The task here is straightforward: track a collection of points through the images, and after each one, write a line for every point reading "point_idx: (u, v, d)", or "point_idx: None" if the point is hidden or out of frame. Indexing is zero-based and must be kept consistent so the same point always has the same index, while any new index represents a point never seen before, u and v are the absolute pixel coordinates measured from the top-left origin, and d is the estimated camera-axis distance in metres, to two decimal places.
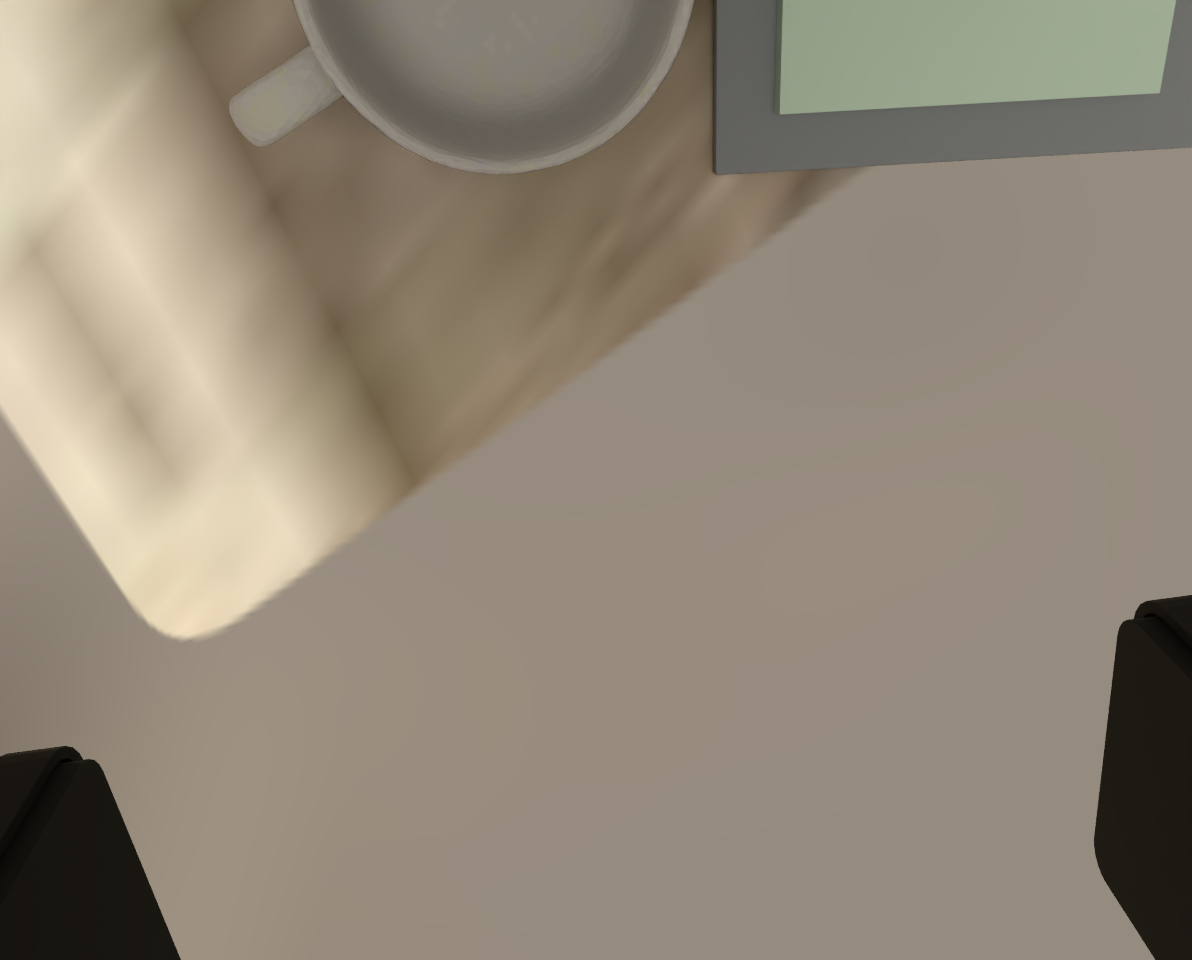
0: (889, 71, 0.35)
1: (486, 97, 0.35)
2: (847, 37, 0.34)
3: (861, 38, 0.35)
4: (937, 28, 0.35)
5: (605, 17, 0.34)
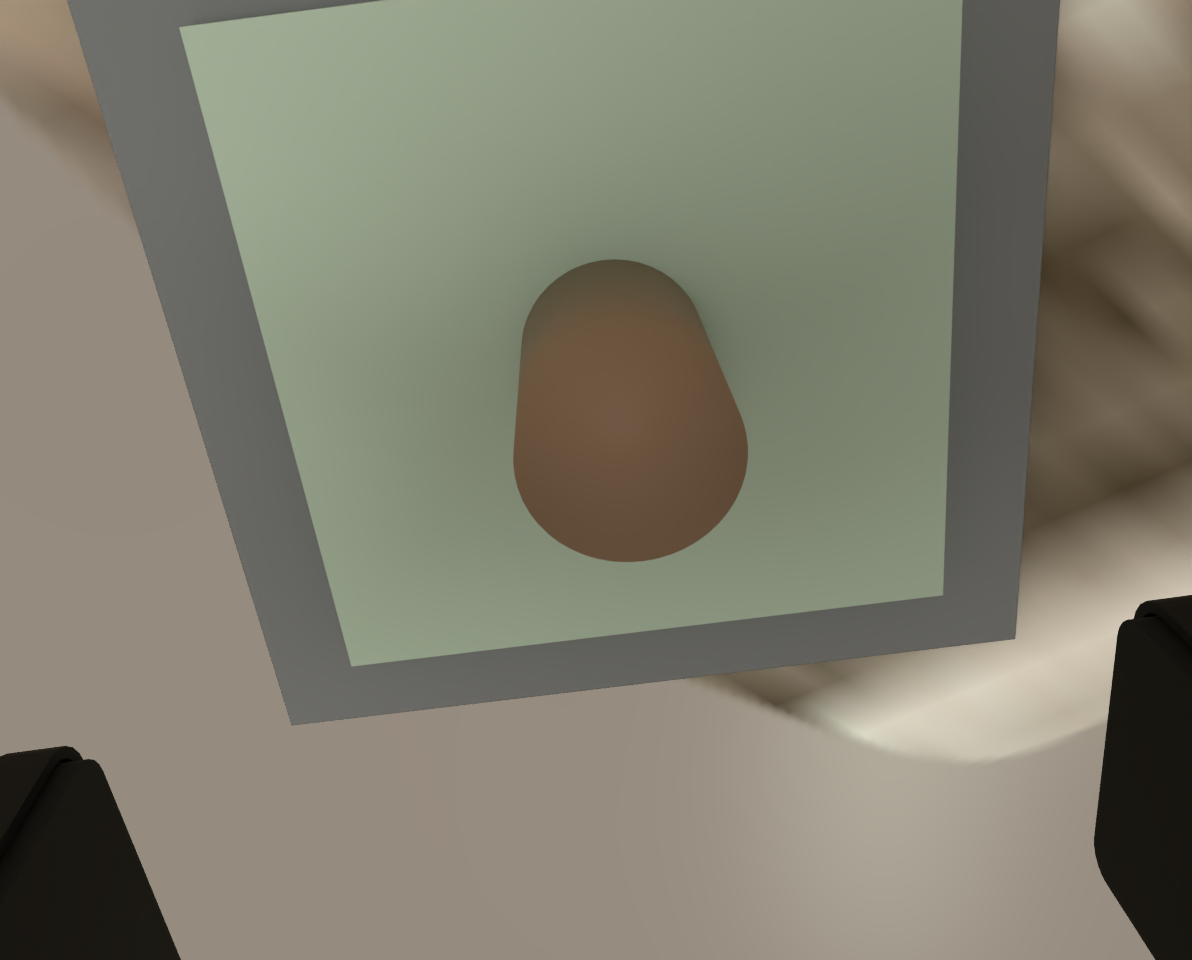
0: (300, 236, 0.19)
1: None
2: (345, 143, 0.18)
3: (347, 172, 0.19)
4: (386, 307, 0.20)
5: None
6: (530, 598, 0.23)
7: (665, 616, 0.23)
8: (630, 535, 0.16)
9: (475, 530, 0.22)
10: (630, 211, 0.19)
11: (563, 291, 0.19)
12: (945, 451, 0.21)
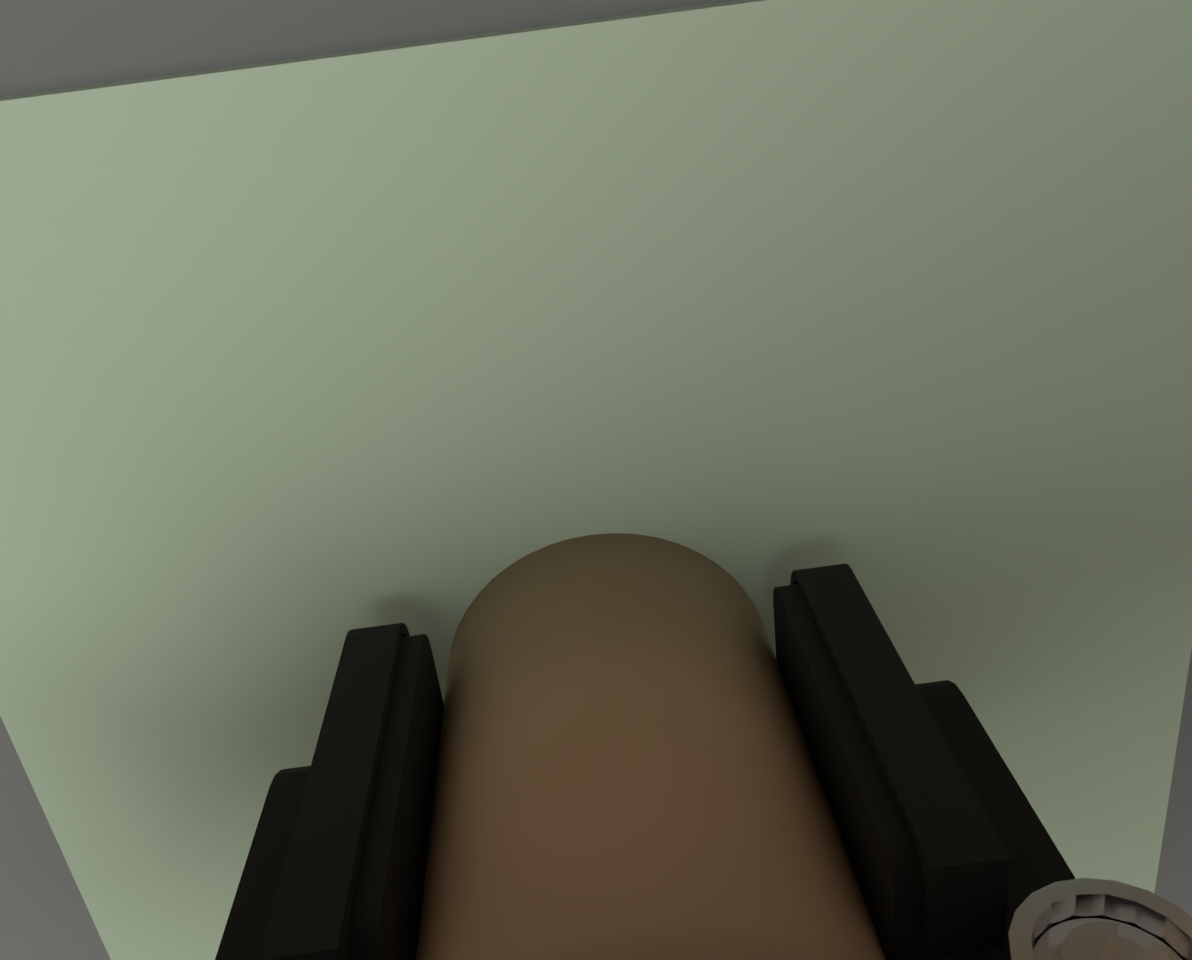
0: (30, 506, 0.10)
1: None
2: (98, 347, 0.10)
3: (107, 396, 0.10)
4: (201, 618, 0.11)
5: None
6: None
7: None
8: None
9: None
10: (641, 454, 0.10)
11: (518, 618, 0.10)
12: (1164, 807, 0.13)
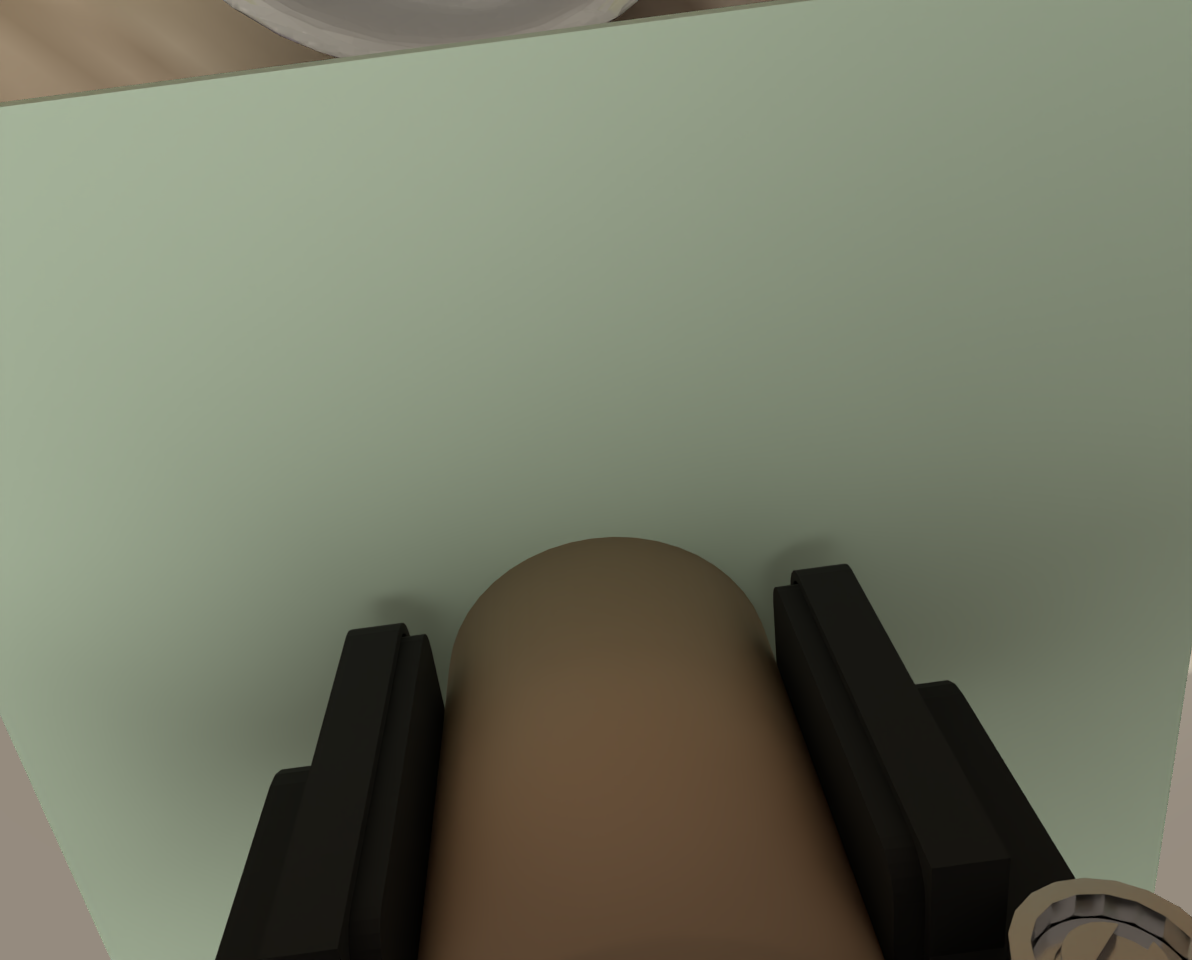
0: (32, 510, 0.10)
1: None
2: (101, 352, 0.10)
3: (109, 401, 0.10)
4: (203, 622, 0.11)
5: None
6: None
7: None
8: None
9: None
10: (641, 457, 0.10)
11: (519, 622, 0.10)
12: (1163, 810, 0.13)
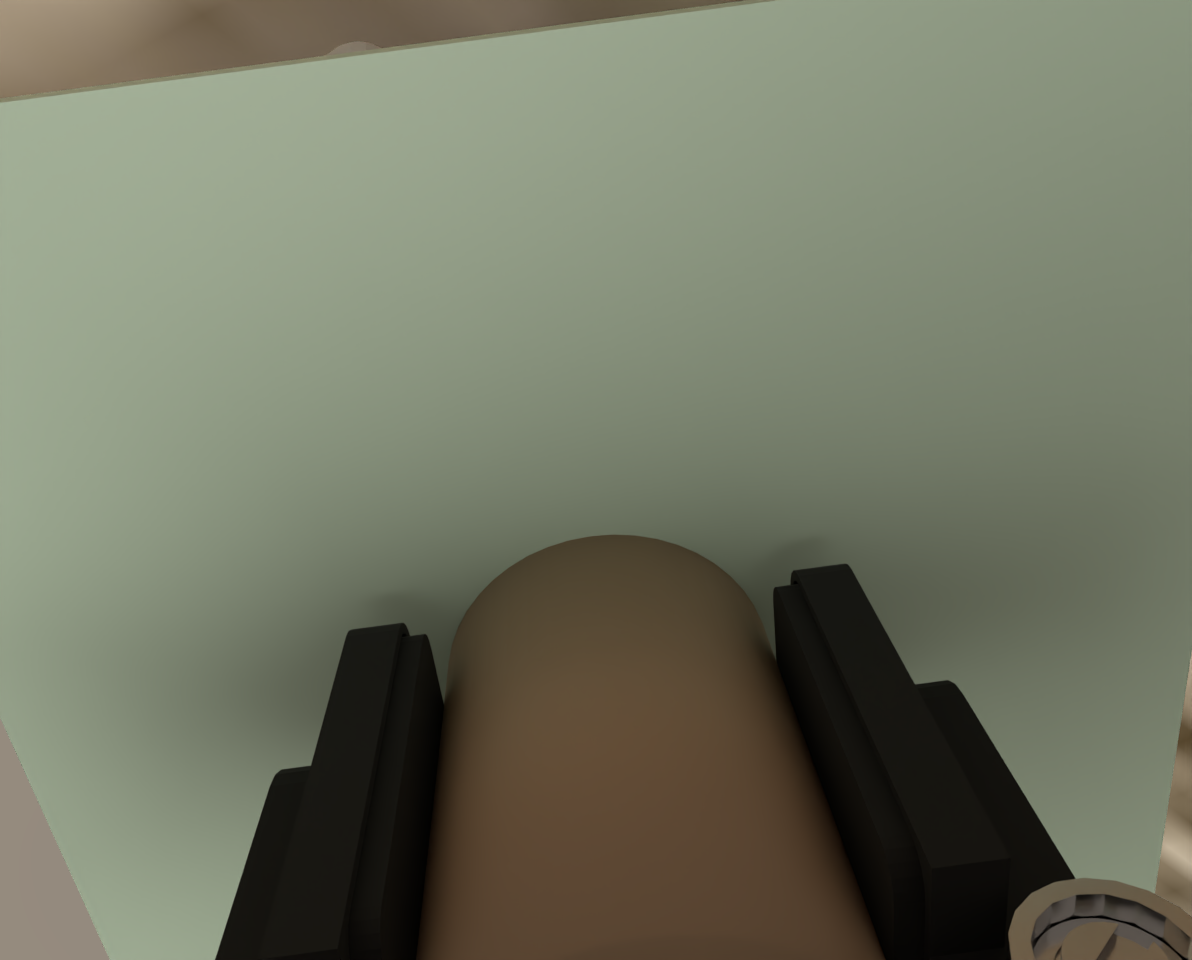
0: (31, 507, 0.10)
1: None
2: (98, 349, 0.10)
3: (107, 398, 0.10)
4: (201, 620, 0.11)
5: None
6: None
7: None
8: None
9: None
10: (640, 455, 0.10)
11: (518, 620, 0.10)
12: (1164, 808, 0.13)
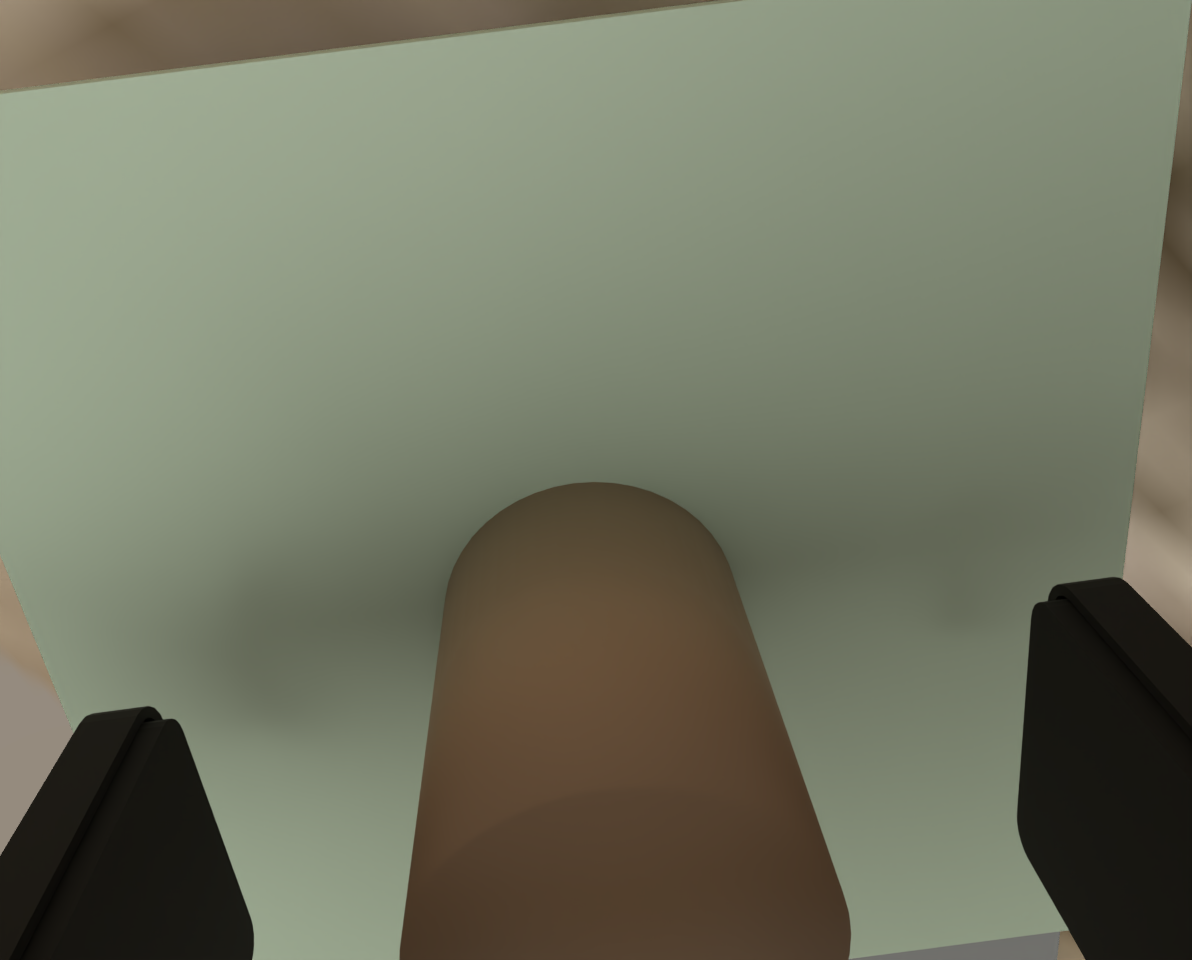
0: (70, 453, 0.11)
1: None
2: (134, 308, 0.11)
3: (141, 353, 0.11)
4: (221, 558, 0.12)
5: None
6: None
7: None
8: None
9: (381, 864, 0.14)
10: (619, 409, 0.12)
11: (507, 553, 0.11)
12: None
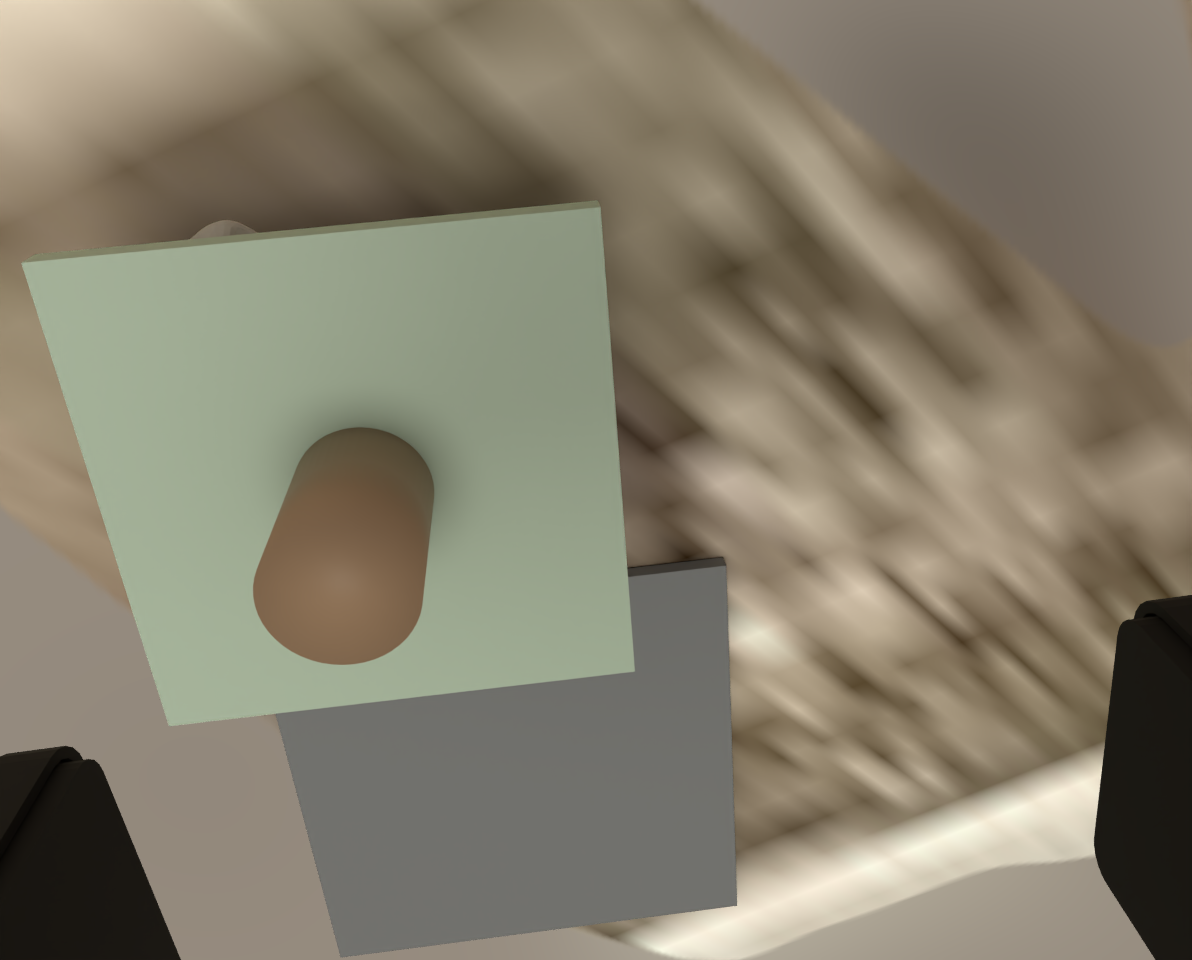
0: (118, 408, 0.25)
1: None
2: (150, 344, 0.25)
3: (153, 363, 0.25)
4: (187, 459, 0.26)
5: None
6: (311, 673, 0.29)
7: (419, 686, 0.29)
8: (343, 646, 0.23)
9: None
10: (370, 394, 0.26)
11: (315, 456, 0.25)
12: (625, 565, 0.28)
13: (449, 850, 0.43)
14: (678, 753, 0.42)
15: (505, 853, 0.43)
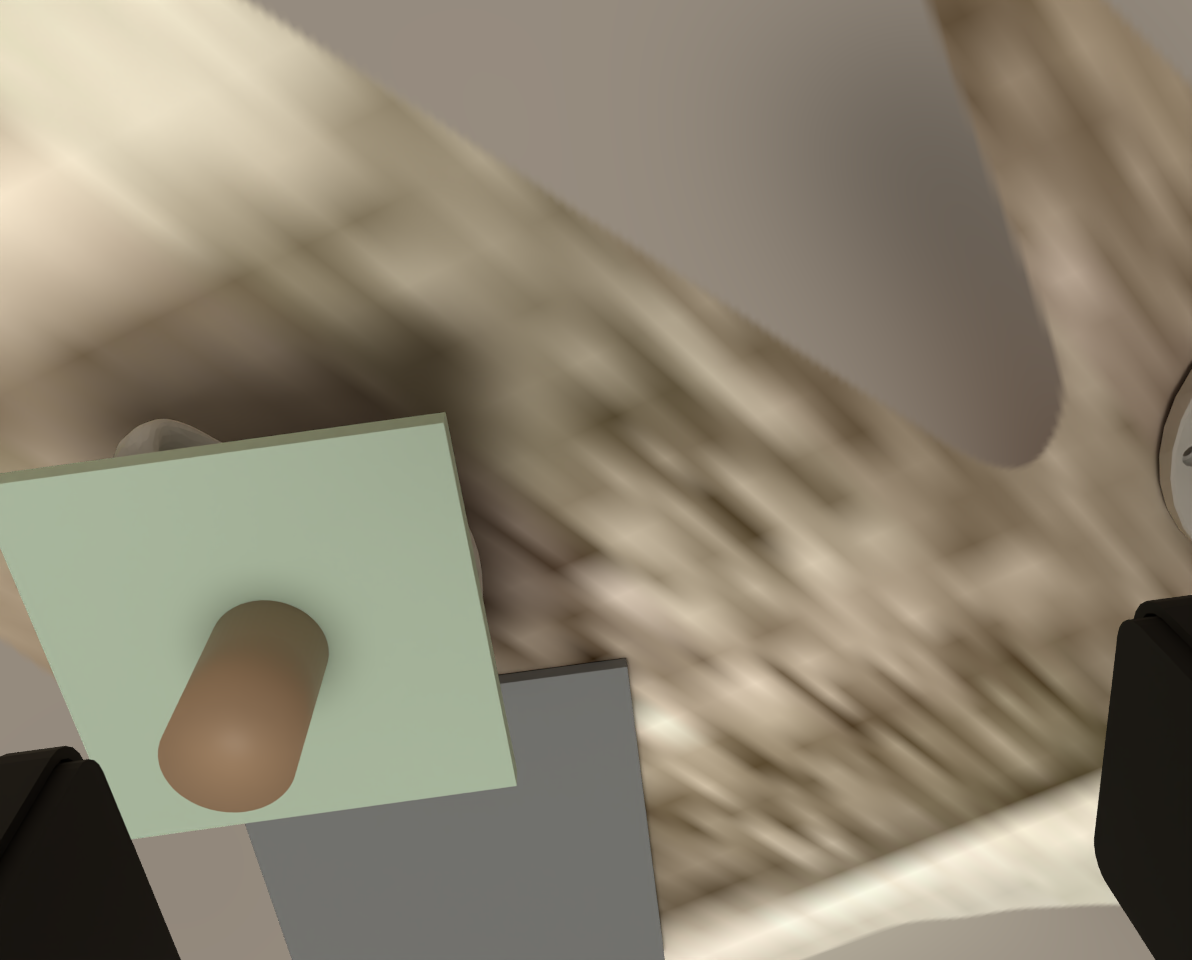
0: (61, 593, 0.31)
1: None
2: (83, 544, 0.30)
3: (86, 558, 0.30)
4: (120, 630, 0.31)
5: None
6: None
7: (332, 803, 0.35)
8: (235, 798, 0.28)
9: None
10: (267, 574, 0.31)
11: (220, 630, 0.30)
12: (498, 701, 0.33)
13: (399, 914, 0.48)
14: (598, 828, 0.46)
15: (449, 916, 0.48)
